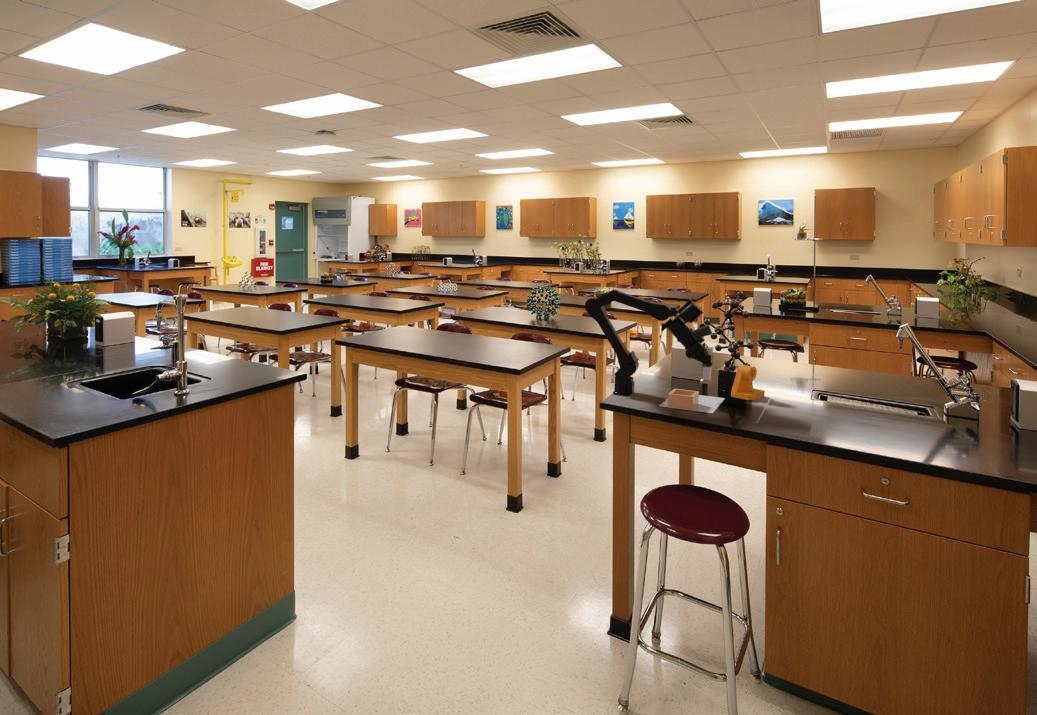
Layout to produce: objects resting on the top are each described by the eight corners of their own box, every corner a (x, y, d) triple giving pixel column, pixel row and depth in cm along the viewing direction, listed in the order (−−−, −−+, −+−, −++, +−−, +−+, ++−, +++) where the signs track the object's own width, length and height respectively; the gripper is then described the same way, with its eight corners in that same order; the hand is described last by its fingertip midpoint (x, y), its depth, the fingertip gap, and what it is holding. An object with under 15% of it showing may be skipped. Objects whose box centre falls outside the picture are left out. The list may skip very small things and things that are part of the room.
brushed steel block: (698, 382, 211) (700, 348, 209) (701, 380, 215) (703, 346, 212) (711, 384, 209) (713, 349, 207) (713, 381, 213) (716, 347, 210)
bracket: (748, 402, 210) (751, 369, 208) (730, 398, 216) (733, 366, 214) (765, 398, 217) (767, 366, 215) (747, 394, 222) (749, 362, 220)
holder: (667, 406, 204) (668, 393, 203) (673, 400, 211) (674, 388, 210) (692, 409, 200) (693, 396, 199) (698, 403, 207) (699, 391, 206)
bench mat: (658, 406, 204) (658, 405, 204) (675, 393, 223) (675, 392, 223) (712, 414, 196) (712, 413, 196) (725, 399, 215) (725, 398, 215)
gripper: (697, 319, 200) (729, 354, 199) (700, 313, 217) (729, 345, 216) (672, 341, 204) (703, 375, 203) (676, 333, 221) (705, 364, 220)
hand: (711, 364), depth 210 cm, fingers closed on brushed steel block, 4 cm apart
